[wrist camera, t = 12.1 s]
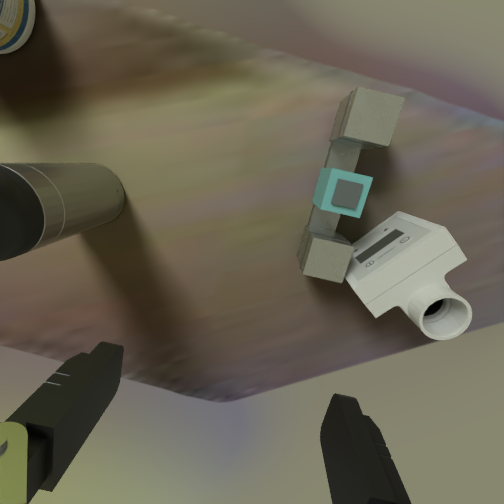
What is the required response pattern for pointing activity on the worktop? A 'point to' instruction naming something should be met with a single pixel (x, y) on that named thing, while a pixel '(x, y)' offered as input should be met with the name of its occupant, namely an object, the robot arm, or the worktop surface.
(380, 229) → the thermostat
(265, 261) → the worktop surface
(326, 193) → the block
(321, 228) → the rail
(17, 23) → the supplement tub
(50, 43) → the worktop surface
